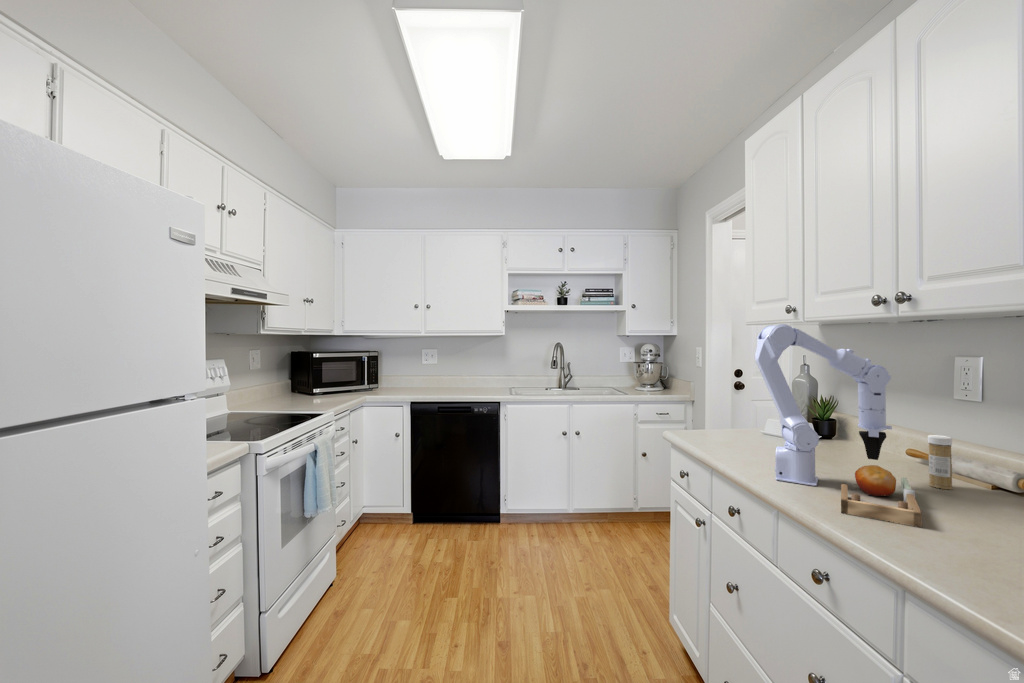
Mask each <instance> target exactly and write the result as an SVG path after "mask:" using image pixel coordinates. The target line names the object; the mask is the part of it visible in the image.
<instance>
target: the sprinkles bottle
mask: <svg viewBox="0 0 1024 683" xmlns="http://www.w3.org/2000/svg"><path fill="white" fill-rule="evenodd" d="M927 443H928V474H929V476H928V477H929V481H928V485H929V487H932V488H935V487H936V488H935V489H939V488H941V489H940V490H947V489H949V490H953V464H952V463H953V462H952V458H953V457H952V446H953V438H952V437H951V436H948V435H942V434H941V435H940V434H928V435H927Z"/></svg>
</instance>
